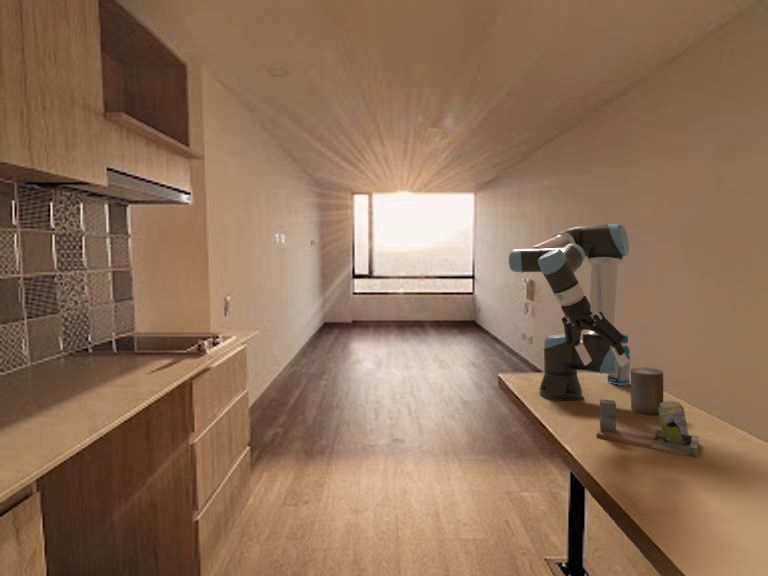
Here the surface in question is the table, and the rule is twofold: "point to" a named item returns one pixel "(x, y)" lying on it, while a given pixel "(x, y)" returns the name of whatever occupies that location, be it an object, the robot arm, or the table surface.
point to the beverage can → (673, 423)
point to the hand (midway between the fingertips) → (605, 363)
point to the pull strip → (637, 433)
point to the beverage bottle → (622, 368)
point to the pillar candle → (646, 390)
